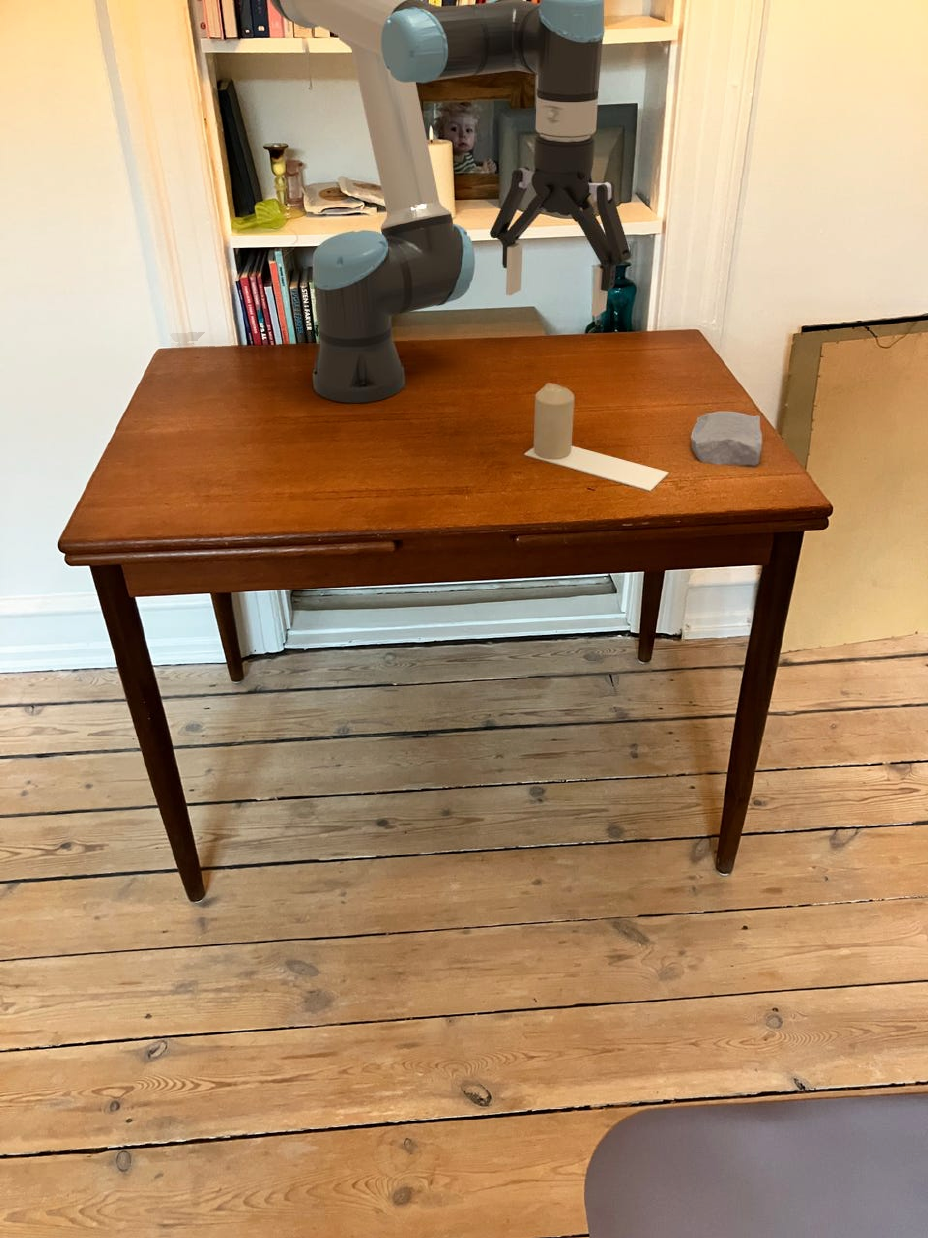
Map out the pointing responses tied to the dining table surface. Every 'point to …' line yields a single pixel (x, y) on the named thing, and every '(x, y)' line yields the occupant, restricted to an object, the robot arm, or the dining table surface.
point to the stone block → (727, 439)
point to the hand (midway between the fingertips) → (555, 302)
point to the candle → (553, 421)
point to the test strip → (608, 468)
